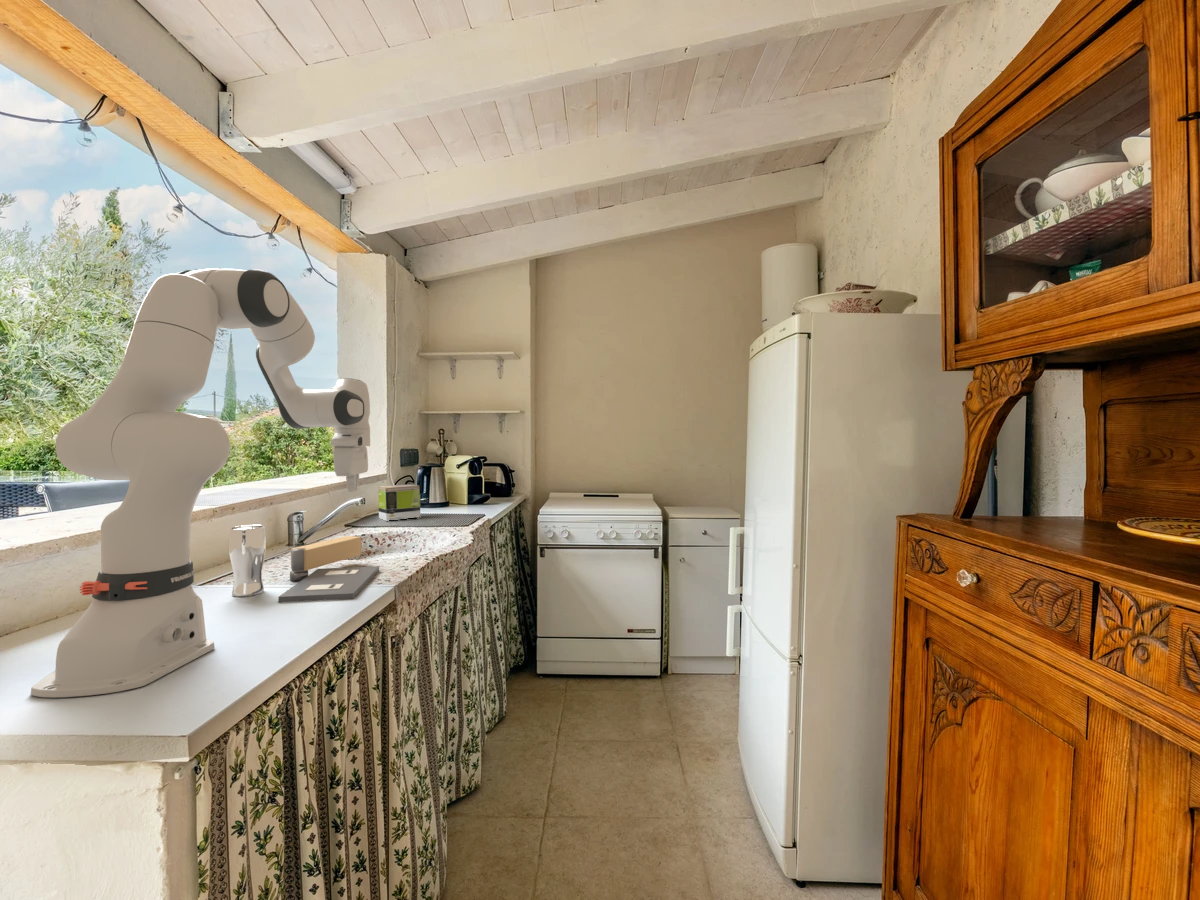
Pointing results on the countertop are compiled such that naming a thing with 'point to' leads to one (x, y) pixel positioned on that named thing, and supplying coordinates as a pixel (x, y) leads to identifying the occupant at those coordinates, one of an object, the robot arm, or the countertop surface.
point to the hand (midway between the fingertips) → (352, 491)
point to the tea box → (399, 502)
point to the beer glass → (247, 559)
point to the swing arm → (325, 552)
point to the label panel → (330, 584)
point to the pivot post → (298, 575)
